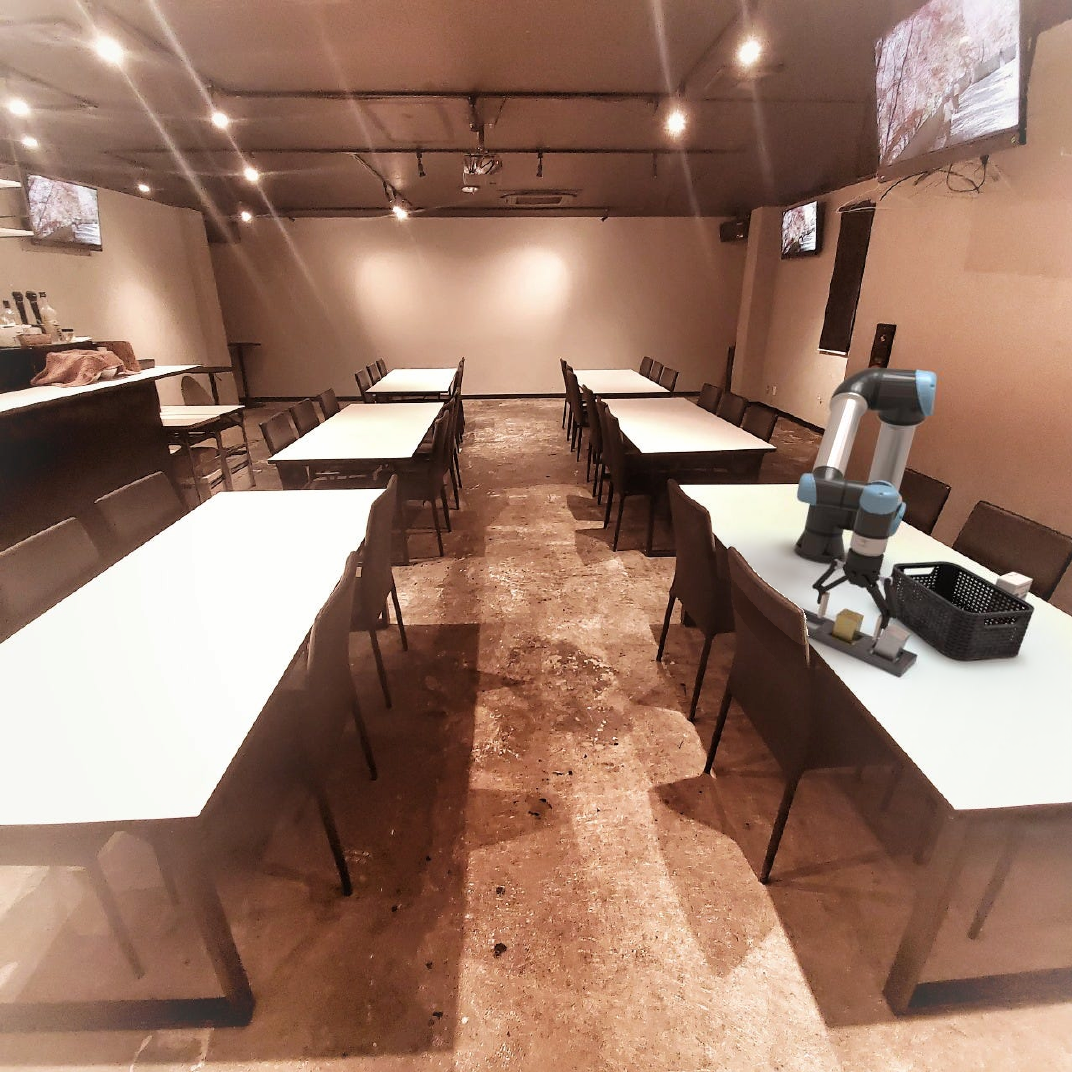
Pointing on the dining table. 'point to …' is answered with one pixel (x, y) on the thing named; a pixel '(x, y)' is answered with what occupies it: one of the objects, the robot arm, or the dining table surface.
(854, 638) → the maple wood beam
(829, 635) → the rail
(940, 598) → the storage bin
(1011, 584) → the ink box
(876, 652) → the light grey block
